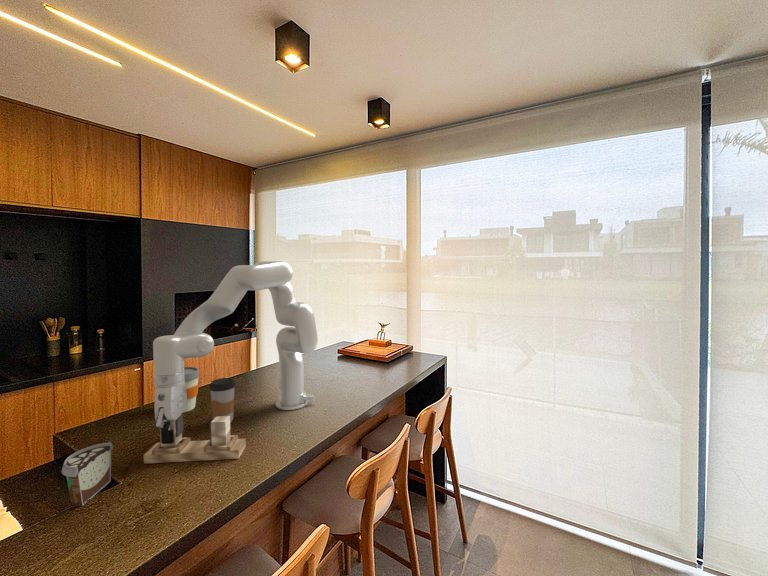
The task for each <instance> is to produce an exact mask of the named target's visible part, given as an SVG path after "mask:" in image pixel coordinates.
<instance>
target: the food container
mask: <svg viewBox="0 0 768 576" xmlns="http://www.w3.org/2000/svg"><path fill="white" fill-rule="evenodd" d="M113 449H114V446H113V444H112V442H111V441H110V442H103V443H98V444H97V443H96V444H94V445H90V446H87V447H84V448H82V449H80V450H79V449H78V450H77V451H75V452H74V453H71V454H70V455H69V456H68V457H66V459H65V460H64V462H63V465H62V468H61V474H62V475H63V476H65V477H66V481H67V487H68V494H69V499H70V503H71V505H73V506H75V507H83V506H85V504H86V502H87V500H89V499H90V500H91V499H93V498H94V496H96V495H97V494H98V493H100V492H101V490H102V489H104V488H105V487H107V485H108V484H109V483H111V480H112V479H111V476H112V475H111V473H112V472H111V471H112V450H113ZM90 500H89V501H90ZM84 501H86V502H84ZM84 503H85V504H84ZM87 503H88V502H87ZM79 504H80V505H79ZM77 505H78V506H77ZM81 505H82V506H81Z"/></svg>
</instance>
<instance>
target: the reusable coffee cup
mask: <svg viewBox="0 0 768 576" xmlns="http://www.w3.org/2000/svg"><path fill="white" fill-rule="evenodd" d="M184 376H185V385H186V392H187V405H188V406H187V409H186V410H185V411H184V412H183V413H186V412H190V411H192V410H194V409H195V407H196V402H197V396H198V394H199V393H198V392H199V383H200V382H199V377H200V372H199V368H198V367H194V366H184Z"/></svg>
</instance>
